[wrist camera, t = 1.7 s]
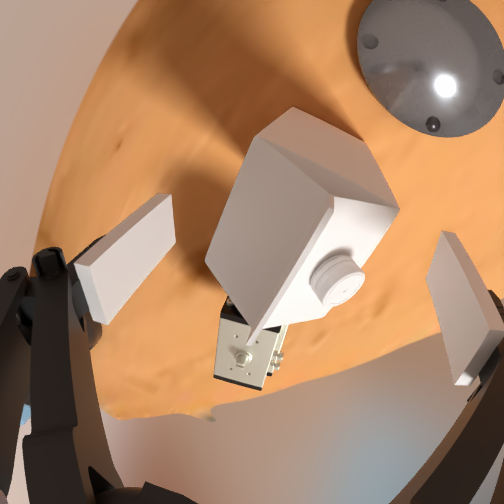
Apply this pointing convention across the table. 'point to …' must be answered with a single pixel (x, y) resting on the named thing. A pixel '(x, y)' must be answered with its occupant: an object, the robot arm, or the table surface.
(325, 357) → the table surface
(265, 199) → the milk carton
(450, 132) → the duct flange
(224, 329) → the pneumatic valve
